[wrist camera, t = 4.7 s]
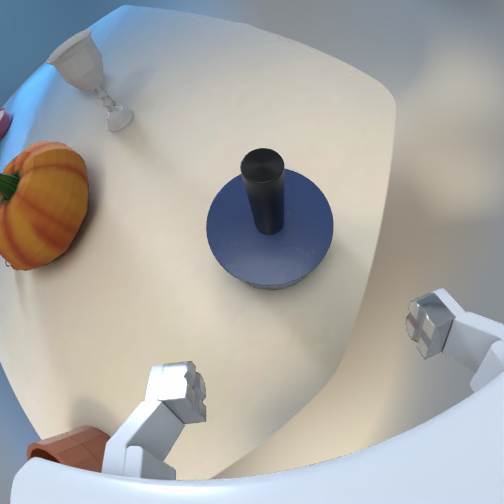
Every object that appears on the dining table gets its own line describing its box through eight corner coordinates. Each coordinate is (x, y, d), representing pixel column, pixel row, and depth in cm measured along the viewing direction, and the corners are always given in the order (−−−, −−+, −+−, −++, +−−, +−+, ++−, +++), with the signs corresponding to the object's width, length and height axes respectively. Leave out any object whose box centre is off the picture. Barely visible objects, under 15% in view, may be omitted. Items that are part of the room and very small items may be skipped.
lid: (351, 207, 25) (382, 143, 16) (291, 312, 23) (298, 300, 14) (251, 156, 28) (237, 84, 18) (186, 246, 26) (136, 200, 16)
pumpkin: (106, 251, 32) (23, 205, 18) (22, 290, 32) (-48, 268, 18) (100, 144, 38) (50, 86, 23) (25, 192, 38) (-26, 155, 24)
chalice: (106, 143, 38) (45, 69, 20) (99, 122, 40) (46, 55, 22) (143, 117, 38) (93, 34, 21) (133, 99, 40) (89, 25, 23)
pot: (139, 461, 24) (96, 493, 15) (115, 494, 23) (77, 523, 13) (85, 412, 27) (33, 427, 17) (67, 450, 25) (22, 467, 15)
